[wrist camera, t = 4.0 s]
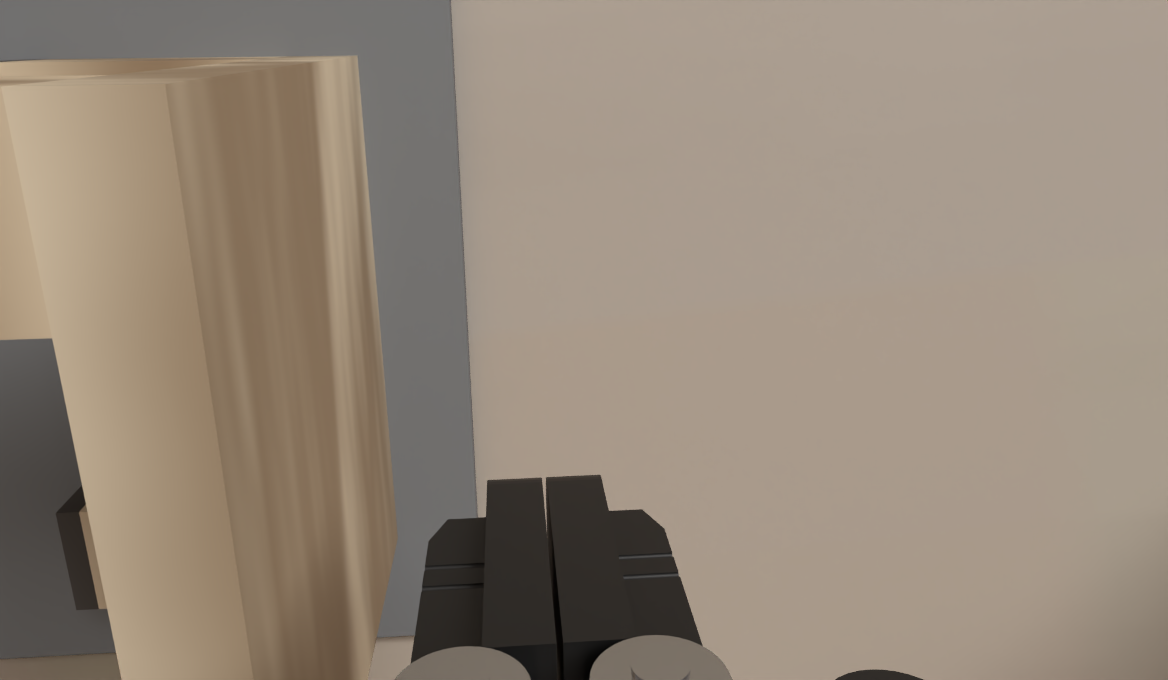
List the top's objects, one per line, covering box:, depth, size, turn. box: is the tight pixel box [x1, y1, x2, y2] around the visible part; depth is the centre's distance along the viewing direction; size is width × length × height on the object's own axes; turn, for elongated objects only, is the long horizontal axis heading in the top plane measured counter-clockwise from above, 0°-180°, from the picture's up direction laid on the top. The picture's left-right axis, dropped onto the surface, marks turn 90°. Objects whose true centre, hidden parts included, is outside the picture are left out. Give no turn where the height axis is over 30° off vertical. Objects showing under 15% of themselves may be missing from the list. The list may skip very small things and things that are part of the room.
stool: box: [0, 56, 398, 680], centre depth 16 cm, size 7×12×12 cm, turn 1°
